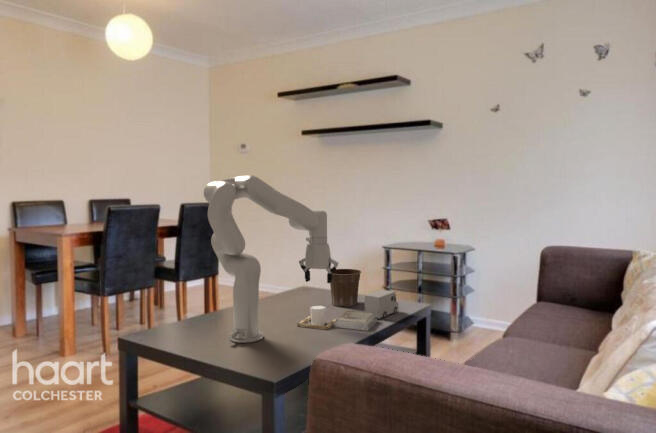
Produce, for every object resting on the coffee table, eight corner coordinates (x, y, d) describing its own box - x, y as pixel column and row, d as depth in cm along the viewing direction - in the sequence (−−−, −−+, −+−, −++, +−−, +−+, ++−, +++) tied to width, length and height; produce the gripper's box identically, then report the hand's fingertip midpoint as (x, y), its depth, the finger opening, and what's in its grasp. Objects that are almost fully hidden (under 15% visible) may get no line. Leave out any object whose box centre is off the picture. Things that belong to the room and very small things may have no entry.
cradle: (326, 329, 192) (326, 326, 192) (297, 326, 197) (297, 323, 197) (337, 321, 203) (337, 319, 203) (309, 318, 208) (309, 316, 208)
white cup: (316, 327, 196) (316, 310, 195) (306, 323, 201) (306, 306, 201) (329, 324, 200) (329, 307, 199) (320, 320, 205) (320, 304, 205)
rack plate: (367, 330, 191) (367, 321, 190) (334, 327, 196) (334, 318, 196) (377, 321, 204) (377, 312, 203) (345, 318, 209) (346, 309, 209)
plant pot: (320, 304, 234) (320, 271, 233) (344, 298, 245) (344, 267, 244) (343, 310, 222) (344, 275, 221) (368, 304, 233) (368, 271, 232)
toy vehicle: (400, 312, 219) (400, 290, 219) (379, 321, 205) (379, 297, 204) (383, 309, 224) (383, 288, 224) (362, 317, 210) (362, 295, 210)
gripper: (295, 241, 198) (295, 282, 199) (334, 242, 192) (334, 285, 193) (302, 239, 205) (303, 278, 206) (341, 240, 199) (341, 281, 200)
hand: (318, 281), depth 200 cm, fingers open, 9 cm apart
